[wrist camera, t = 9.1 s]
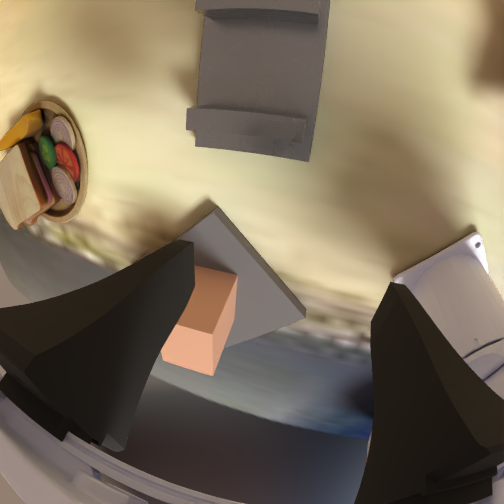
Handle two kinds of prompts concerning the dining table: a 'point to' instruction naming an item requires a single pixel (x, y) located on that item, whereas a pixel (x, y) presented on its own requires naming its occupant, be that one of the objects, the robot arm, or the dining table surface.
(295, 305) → the mat
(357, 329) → the dining table surface
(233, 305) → the block
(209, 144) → the vise
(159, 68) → the dining table surface
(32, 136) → the toy sandwich meal
